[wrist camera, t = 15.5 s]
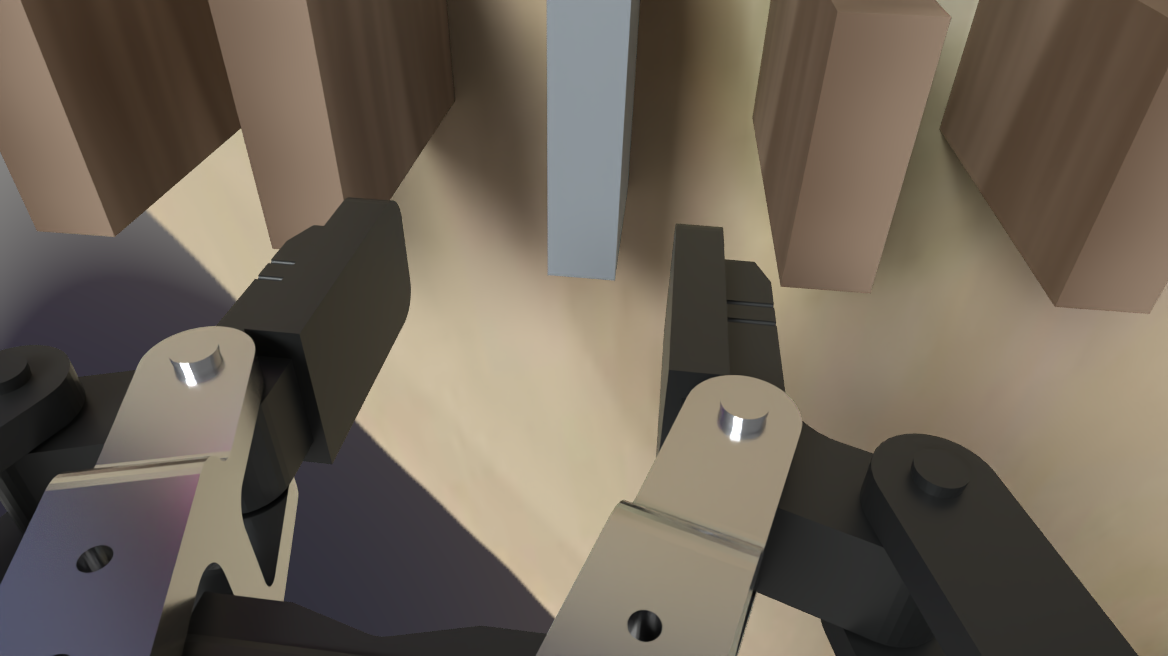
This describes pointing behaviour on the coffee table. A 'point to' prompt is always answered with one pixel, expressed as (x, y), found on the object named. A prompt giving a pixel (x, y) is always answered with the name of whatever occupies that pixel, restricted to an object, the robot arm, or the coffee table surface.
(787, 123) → the domino
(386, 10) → the domino
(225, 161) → the coffee table surface
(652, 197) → the coffee table surface
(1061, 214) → the domino
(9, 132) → the domino
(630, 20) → the grey domino
